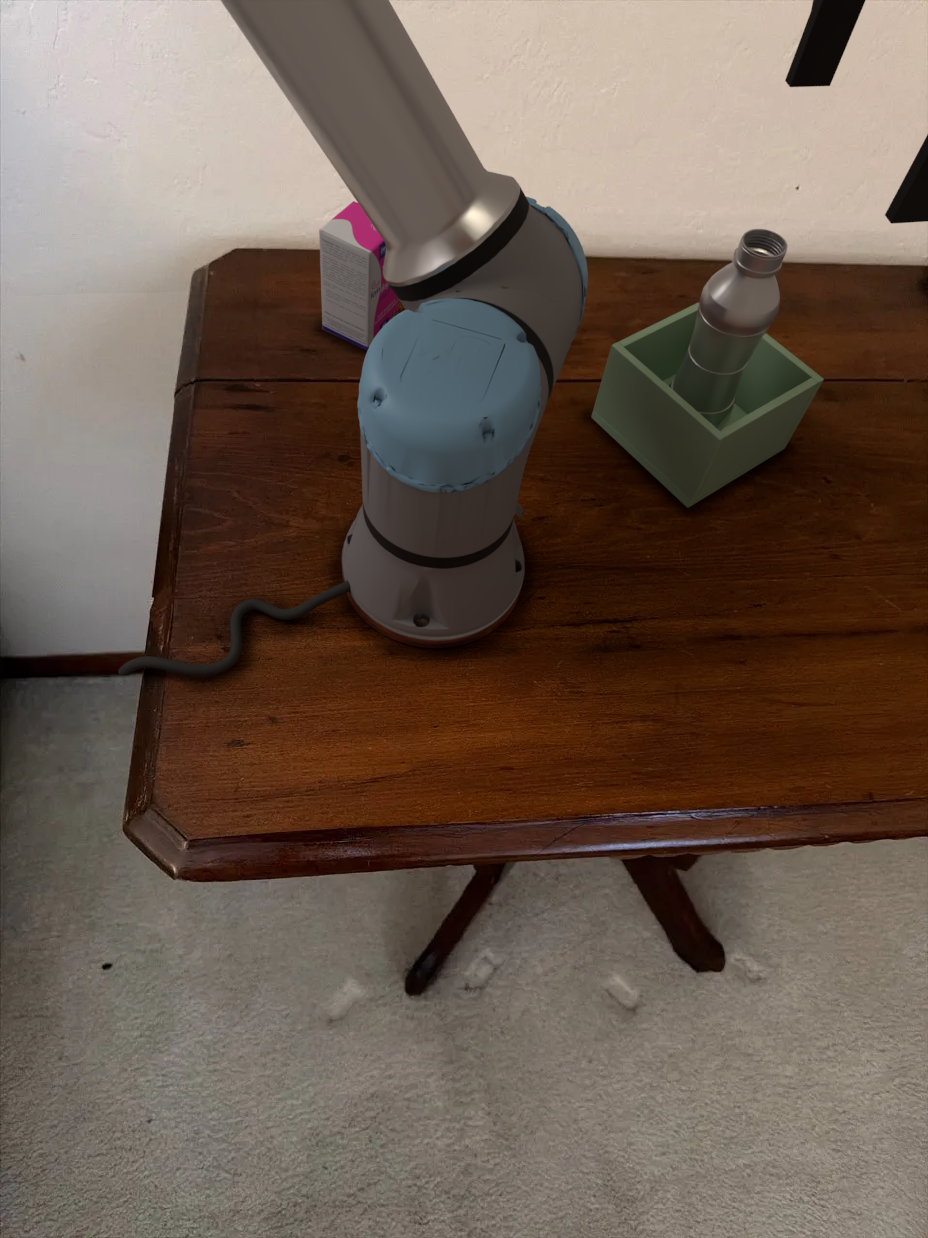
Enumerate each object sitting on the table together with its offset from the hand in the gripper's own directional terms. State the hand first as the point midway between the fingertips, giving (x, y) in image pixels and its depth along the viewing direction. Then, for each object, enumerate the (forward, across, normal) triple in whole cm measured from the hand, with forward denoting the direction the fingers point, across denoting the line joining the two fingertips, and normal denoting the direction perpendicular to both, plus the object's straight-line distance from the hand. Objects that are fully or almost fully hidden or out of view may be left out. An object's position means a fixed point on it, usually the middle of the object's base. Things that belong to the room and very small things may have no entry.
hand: (854, 146), depth 51 cm
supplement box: (+35, +29, +25) cm, 52 cm away
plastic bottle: (+34, +10, -4) cm, 36 cm away
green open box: (+35, +10, -4) cm, 37 cm away
